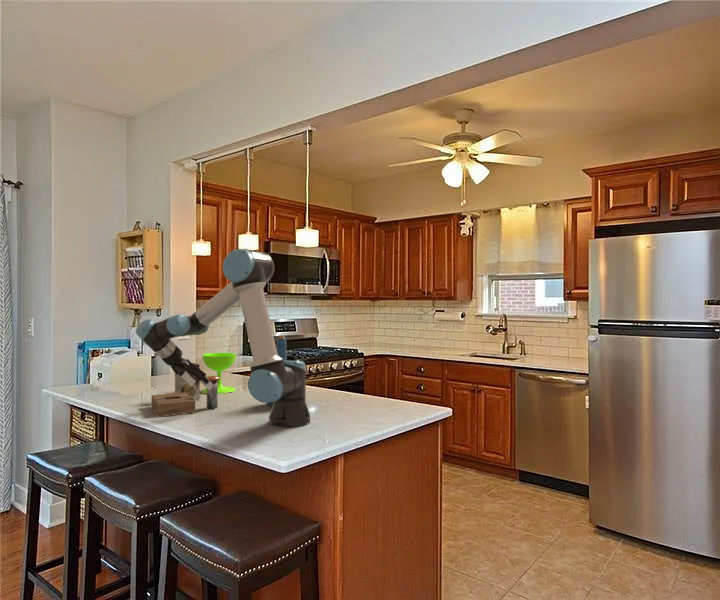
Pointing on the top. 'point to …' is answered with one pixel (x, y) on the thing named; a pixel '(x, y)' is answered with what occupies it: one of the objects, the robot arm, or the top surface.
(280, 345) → the wine bottle
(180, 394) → the walnut socket block
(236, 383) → the top surface
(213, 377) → the metal pin
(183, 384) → the coffee box
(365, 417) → the top surface
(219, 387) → the wineglass
